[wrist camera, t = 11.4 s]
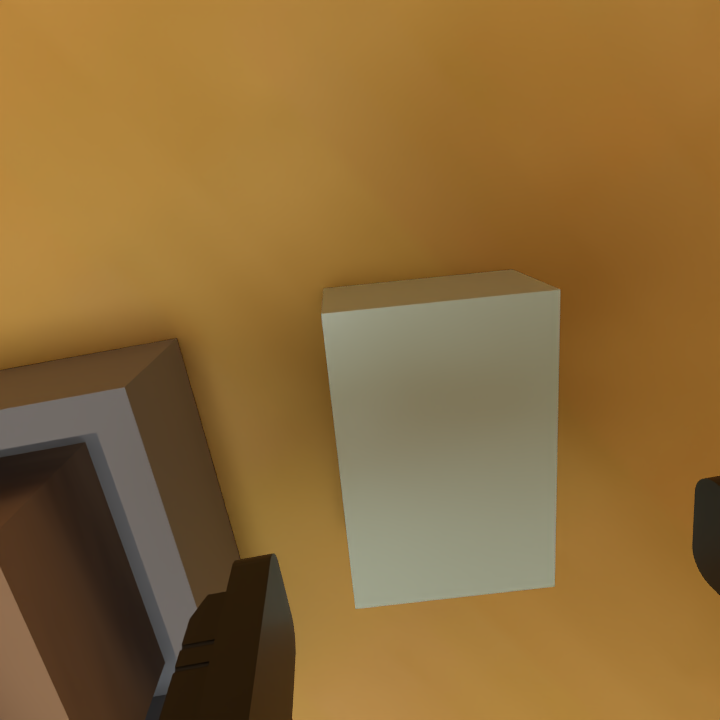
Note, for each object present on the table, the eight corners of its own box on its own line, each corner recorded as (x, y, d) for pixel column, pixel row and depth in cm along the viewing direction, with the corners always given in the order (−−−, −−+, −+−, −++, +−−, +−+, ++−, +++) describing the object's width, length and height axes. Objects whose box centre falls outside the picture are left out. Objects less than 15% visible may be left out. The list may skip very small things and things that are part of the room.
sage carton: (510, 268, 17) (560, 289, 13) (511, 511, 20) (554, 586, 16) (323, 286, 17) (321, 313, 13) (351, 528, 20) (355, 608, 16)
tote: (176, 338, 17) (124, 387, 13) (273, 674, 21) (258, 795, 17) (-225, 410, 17) (-410, 483, 13) (-49, 731, 21) (-145, 867, 17)
